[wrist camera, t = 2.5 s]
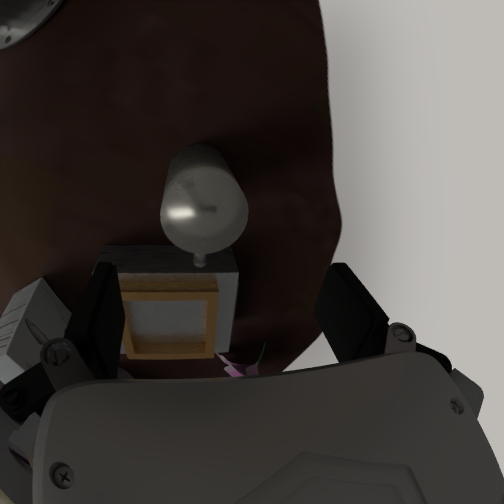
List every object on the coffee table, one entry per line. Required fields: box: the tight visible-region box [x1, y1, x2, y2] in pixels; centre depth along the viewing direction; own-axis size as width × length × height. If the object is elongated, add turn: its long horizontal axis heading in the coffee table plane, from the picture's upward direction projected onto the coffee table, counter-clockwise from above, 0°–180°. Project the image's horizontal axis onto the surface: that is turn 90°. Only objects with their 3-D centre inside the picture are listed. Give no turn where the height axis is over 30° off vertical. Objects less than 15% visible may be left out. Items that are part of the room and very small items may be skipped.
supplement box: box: [0, 277, 72, 384], centre depth 23 cm, size 7×7×13 cm
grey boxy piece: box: [92, 245, 239, 359], centre depth 29 cm, size 12×14×6 cm
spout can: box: [160, 144, 248, 267], centre depth 22 cm, size 8×6×10 cm
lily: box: [216, 342, 266, 377], centre depth 38 cm, size 12×12×10 cm
